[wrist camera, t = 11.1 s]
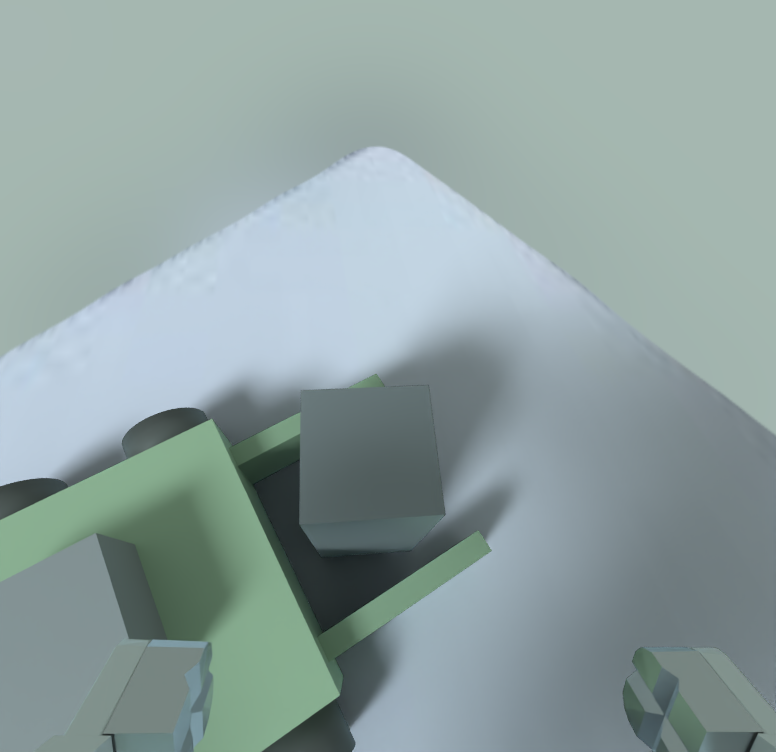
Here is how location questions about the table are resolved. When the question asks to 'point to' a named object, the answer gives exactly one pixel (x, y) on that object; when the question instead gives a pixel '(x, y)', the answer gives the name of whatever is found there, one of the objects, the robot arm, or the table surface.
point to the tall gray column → (368, 469)
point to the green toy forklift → (179, 588)
